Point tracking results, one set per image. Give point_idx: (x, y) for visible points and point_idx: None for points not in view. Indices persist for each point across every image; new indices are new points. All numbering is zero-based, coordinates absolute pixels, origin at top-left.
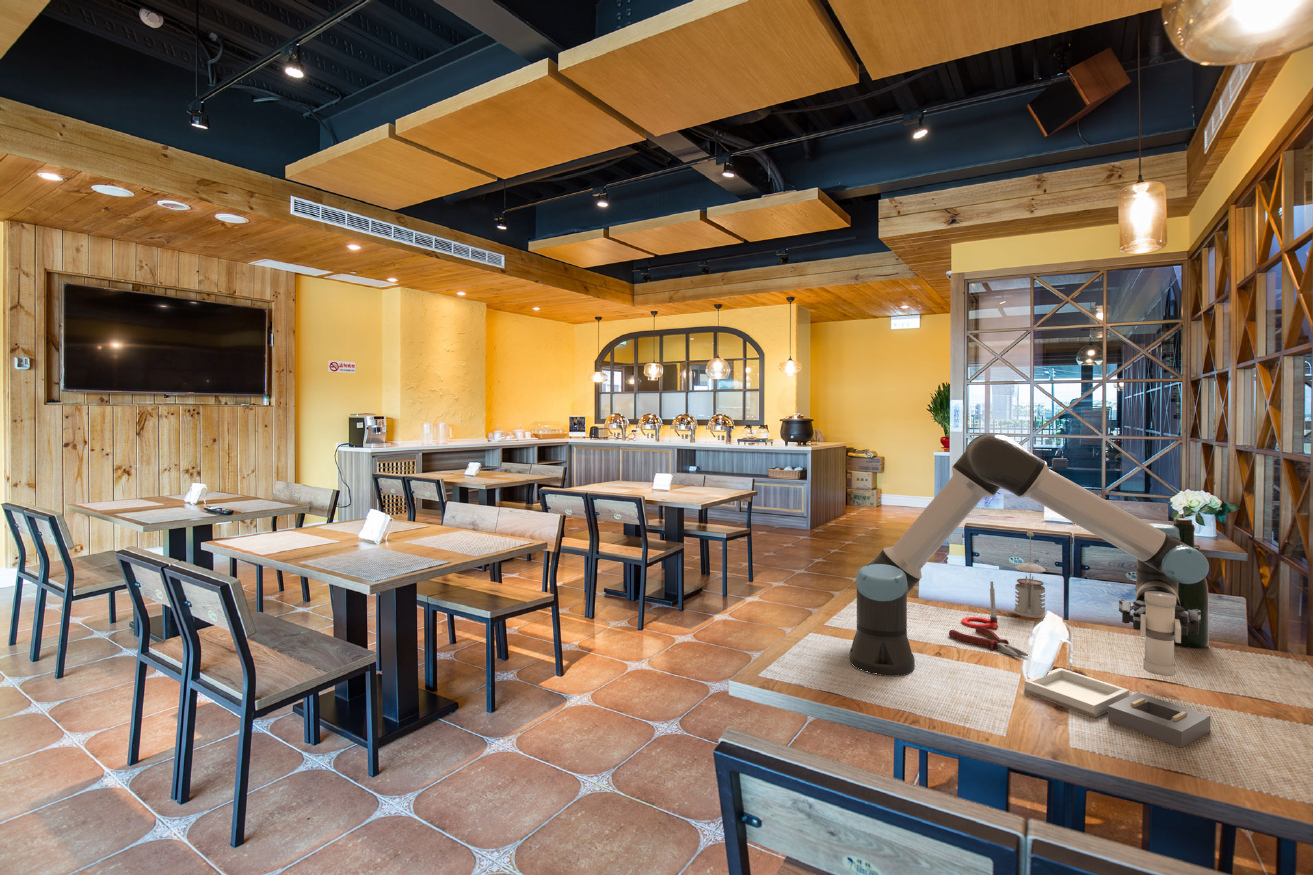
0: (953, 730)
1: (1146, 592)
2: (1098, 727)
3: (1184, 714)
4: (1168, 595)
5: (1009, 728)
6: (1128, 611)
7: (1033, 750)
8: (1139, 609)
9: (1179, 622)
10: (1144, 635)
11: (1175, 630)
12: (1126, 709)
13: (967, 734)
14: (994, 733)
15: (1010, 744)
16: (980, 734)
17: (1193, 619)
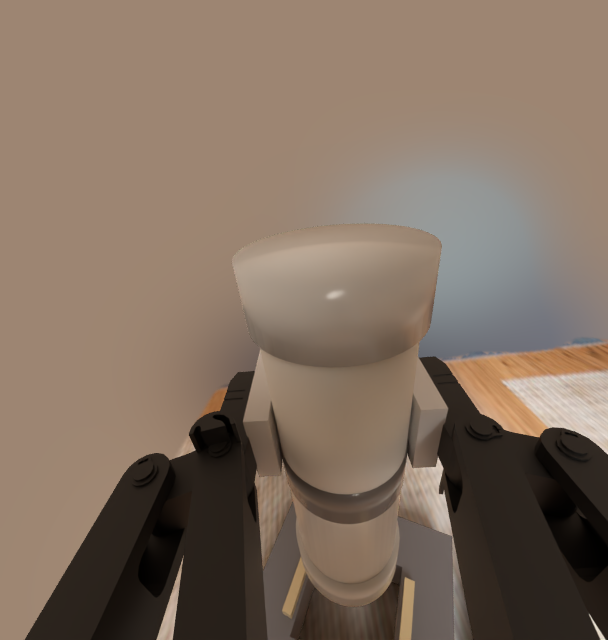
0: (547, 360)
1: (424, 239)
2: (440, 497)
3: (289, 592)
4: (281, 251)
5: (518, 401)
6: (543, 436)
7: (453, 369)
8: (568, 601)
9: (256, 371)
10: None
11: None
12: (412, 542)
13: (528, 361)
14: (514, 379)
15: (479, 367)
16: (520, 368)
17: (132, 511)
